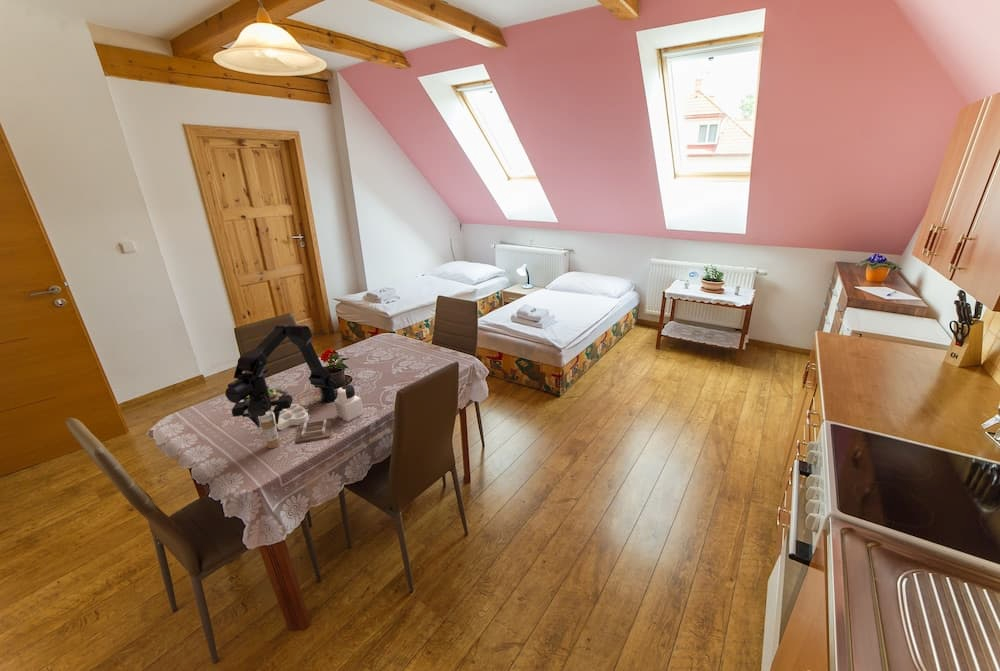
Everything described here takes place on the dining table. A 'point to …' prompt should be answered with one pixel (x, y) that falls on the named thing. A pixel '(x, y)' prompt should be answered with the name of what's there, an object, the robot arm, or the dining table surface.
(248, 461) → the dining table surface
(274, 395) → the salad plate
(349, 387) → the container
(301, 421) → the white compartment tray
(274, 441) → the sprinkles bottle
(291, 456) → the dining table surface
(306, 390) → the dining table surface
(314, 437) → the brown flat square frame
